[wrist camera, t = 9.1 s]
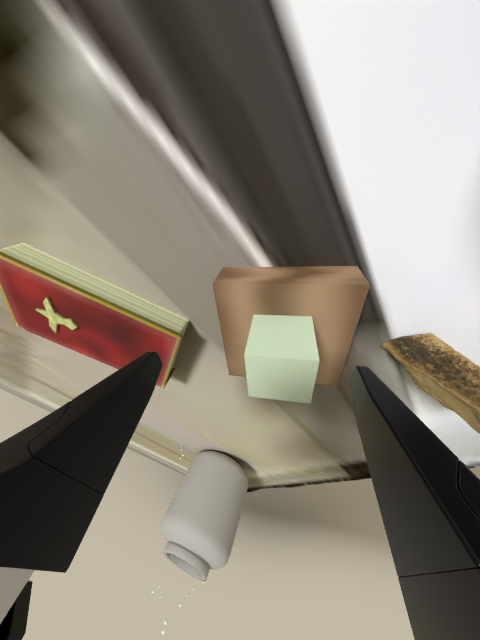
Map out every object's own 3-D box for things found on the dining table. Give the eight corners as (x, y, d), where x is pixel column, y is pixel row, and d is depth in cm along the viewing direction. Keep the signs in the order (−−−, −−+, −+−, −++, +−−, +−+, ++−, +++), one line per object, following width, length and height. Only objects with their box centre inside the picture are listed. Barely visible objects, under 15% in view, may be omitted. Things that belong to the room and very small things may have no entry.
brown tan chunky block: (535, 402, 19) (582, 339, 14) (519, 489, 17) (569, 455, 11) (398, 362, 28) (393, 313, 22) (373, 416, 25) (360, 376, 19)
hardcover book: (175, 368, 32) (162, 391, 29) (44, 311, 30) (14, 329, 27) (194, 316, 25) (180, 339, 22) (23, 236, 23) (-22, 248, 19)
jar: (171, 444, 52) (100, 611, 32) (206, 434, 44) (140, 647, 24) (223, 473, 58) (190, 629, 38) (262, 469, 50) (245, 662, 30)
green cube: (312, 316, 17) (319, 360, 13) (305, 357, 20) (310, 403, 16) (253, 314, 18) (244, 355, 14) (255, 353, 21) (248, 396, 17)
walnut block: (355, 264, 18) (370, 284, 14) (331, 358, 25) (337, 386, 21) (224, 265, 20) (212, 283, 17) (236, 351, 27) (229, 375, 24)
